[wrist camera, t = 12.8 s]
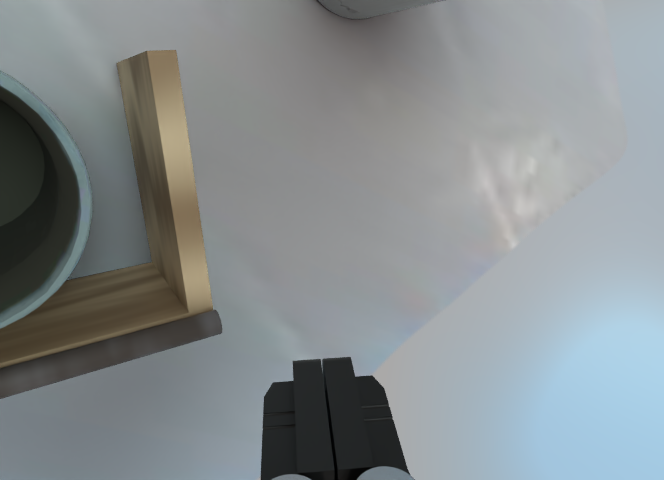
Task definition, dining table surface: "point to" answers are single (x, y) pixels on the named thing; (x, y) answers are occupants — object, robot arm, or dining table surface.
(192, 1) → the dining table surface
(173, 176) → the oak caddy
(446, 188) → the dining table surface
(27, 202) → the green ceramic pot
